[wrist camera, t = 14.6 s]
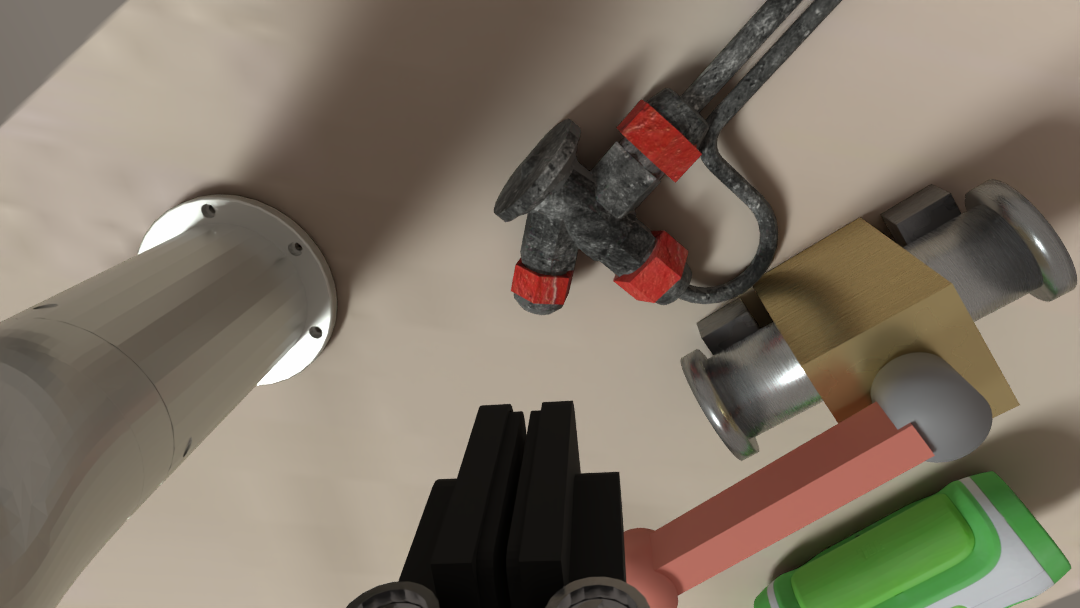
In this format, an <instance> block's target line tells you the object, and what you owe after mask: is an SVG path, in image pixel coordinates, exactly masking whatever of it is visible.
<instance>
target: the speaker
mask: <svg viewBox="0 0 1080 608" xmlns="http://www.w3.org/2000/svg"><path fill="white" fill-rule="evenodd" d="M1070 569H1071V565H1070V563H1069V561H1068V560H1067V558H1066V557H1065V555H1064V554H1063V553H1062V551H1061V550H1060V549H1059V547H1058V546H1057V545H1056V543H1055V542H1054V541H1053V540H1052V538H1051V537H1050V536H1049V535H1048V533H1047V532H1046V531H1045V529H1044V528H1043V527H1042V526H1041V525H1040V523H1039V522H1038V521H1037V520H1036V519H1035V517H1034V516H1033V515H1032V514H1031V512H1030V511H1029V510H1028V509H1027V508H1026V506H1025V505H1024V504H1023V503H1022V502H1021V500H1020V499H1019V498H1018V497H1017V496H1016V495H1015V493H1014V492H1013V491H1012V490H1011V489H1010V488H1009V486H1008V485H1007V484H1006V483H1005V482H1004V481H1003V480H1002V479H1001V478H1000V477H999V476H998V475H997V474H996V473H995V472H993V471H989V472H985V473H980V474H976V475H972V476H969V477H966V478H963V479H960V480H957V481H953V482H951V483H949V484H948V485H947V486H945V487H944V488H943V489H942V490H940V491H939V492H937V493H936V494H934V495H932V496H929V497H926V498H924V499H921V500H918V501H916V502H913V503H911V504H909V505H907V506H905V507H903V508H901V509H899V510H898V511H896V512H894V513H892V514H890V515H888V516H886V517H885V518H883V519H881V520H879V521H877V522H875V523H873V524H872V525H870V526H868V527H866V528H864V529H862V530H861V531H859V532H857V533H855V534H853V535H851V536H850V537H848V538H846V539H844V540H842V541H840V542H839V543H837V544H835V545H833V546H831V547H830V548H828V549H826V550H824V551H822V552H821V553H819V554H818V555H816V556H815V557H814V558H812V559H811V560H810V561H808V562H807V563H805V564H804V565H803V566H801V567H799V568H797V569H795V570H792V571H790V572H787V573H784V574H782V575H780V576H779V577H777V578H776V579H775V580H774V581H772V582H771V583H770V584H769V585H768V586H767V587H766V588H765V589H764V590H763V591H762V592H761V593H760V594H759V595H758V596H757V597H756V599H755V601H754V608H1009V607H1011V606H1013V605H1016V604H1019V603H1021V602H1024V601H1026V600H1029V599H1032V598H1034V597H1036V596H1038V595H1040V594H1041V593H1043V592H1044V591H1046V590H1047V589H1049V588H1050V587H1051V586H1053V585H1054V584H1055V583H1056V582H1057V581H1058V580H1059V579H1061V578H1062V577H1063V576H1064V575H1065V574H1066V573H1067V572H1068V571H1069V570H1070Z"/></svg>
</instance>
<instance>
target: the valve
mask: <svg viewBox="0 0 1080 608" xmlns="http://www.w3.org/2000/svg"><path fill="white" fill-rule="evenodd" d="M801 1H802V0H767V1H766V2H765V4H764V5H763V6H762V7H761V8H760V9H759V10H758V11H757V12H756V14H755V15H754V16H753V17H752V18H751V19H750V20H749V21H748V22H747V24H746V25H745V26H744V27H743V28H742V29H741V30H740V31H739V32H738V34H737V35H736V36H735V37H734V38H733V39H732V40H731V41H730V42H729V44H728V45H727V46H726V47H725V48H724V49H723V50H722V51H721V52H720V54H719V55H718V56H717V57H716V58H715V59H714V60H713V61H712V62H711V64H710V65H709V66H708V67H707V68H706V69H705V70H704V71H703V72H702V74H701V75H700V76H699V77H698V78H697V79H696V80H695V81H694V82H693V84H692V85H691V86H690V87H689V88H688V89H687V90H686V91H685V92H684V93H683V95H682V96H681V97H680V96H679V95H678V94H676V93H675V92H674V91H673V90H671V89H669V88H665V89H664V90H662V91H661V92H659V93H658V94H656V95H655V96H653V97H652V98H650V99H649V100H647V101H646V102H645V101H643V100H642V99H641V100H640V101H639V102H638V104H637V105H636V106H635V107H634V108H633V109H632V110H631V112H630V113H629V114H628V115H627V116H626V117H625V118H624V120H623V121H622V122H621V123H620V124H619V125H618V126H617V129H618V130H619V131H620V133H621V134H622V135H624V136H625V137H624V138H623V139H622V141H621V142H620V143H618V142H617V141H616V142H615V144H614V145H613V146H612V147H611V148H610V149H609V150H608V152H607V153H606V154H605V155H604V156H603V157H602V159H601V160H600V161H599V162H598V163H597V164H596V166H595V167H594V168H593V169H592V170H591V171H588V170H587V169H586V168H585V167H584V166H582V165H581V164H580V163H579V162H578V161H577V156H575V155H576V152H577V143H578V140H579V138H580V134H581V130H580V128H579V127H578V126H577V125H576V124H575V123H574V122H573V121H571V120H570V119H567V120H564V121H562V122H561V123H559V124H558V125H556V126H555V127H554V128H553V129H552V130H550V131H549V132H548V133H547V134H546V135H545V136H544V137H543V139H542V140H541V141H540V142H539V143H538V144H537V146H536V147H535V148H534V149H533V150H532V151H531V153H530V154H529V155H528V156H527V157H526V158H525V160H524V161H523V162H522V163H521V164H520V165H519V167H518V168H517V169H516V170H515V171H514V173H513V174H512V176H511V177H510V179H509V180H508V182H507V183H506V185H505V186H504V188H503V190H502V191H501V193H500V195H499V197H498V199H497V201H496V204H495V207H494V213H495V214H496V215H497V216H499V217H500V218H501V219H502V220H504V221H505V222H508V221H511V220H513V219H515V218H516V217H518V216H520V215H524V214H527V213H528V215H527V220H526V225H525V231H524V236H523V241H522V246H521V251H520V253H521V258H520V260H519V261H518V262H517V264H516V266H515V271H514V277H513V282H512V287H511V291H512V292H514V298H515V299H516V301H517V302H518V303H519V304H520V306H521V307H522V308H523V309H524V310H526V311H528V312H530V313H534V314H539V315H547V314H551V313H553V312H555V311H557V310H559V309H561V308H562V306H563V304H564V302H565V300H566V298H567V296H568V294H569V290H570V285H571V281H572V276H573V272H574V266H575V262H576V257H577V252H578V250H579V249H580V250H581V251H583V252H584V253H585V254H586V255H588V256H589V257H590V258H591V259H593V260H594V261H600V262H601V263H603V264H604V265H605V266H606V267H608V268H609V269H610V270H611V271H613V272H614V273H615V277H614V280H613V281H614V282H615V283H616V284H618V285H619V286H620V287H621V288H623V289H624V290H625V291H626V292H628V293H629V294H630V295H631V296H633V297H634V298H635V299H636V300H639V301H646V302H652V303H658V304H660V305H667V304H669V303H672V302H674V301H675V300H677V299H678V298H679V299H682V300H685V301H688V302H691V303H699V304H710V303H719V302H722V301H726V300H729V299H732V298H734V297H736V296H738V295H740V294H742V293H744V292H745V291H746V290H748V289H749V288H750V287H752V286H753V285H754V284H755V283H756V282H757V281H758V280H759V279H760V278H761V277H762V275H763V274H764V273H765V272H766V270H767V269H768V267H769V265H770V263H771V261H772V260H773V257H774V254H775V251H776V247H777V240H778V227H777V221H776V217H775V215H774V213H773V210H772V208H771V206H770V205H769V203H768V202H767V201H766V200H765V198H764V197H763V196H762V195H761V194H760V193H759V192H758V191H757V190H756V189H755V188H754V187H753V186H752V185H751V184H750V183H749V182H748V181H747V180H745V179H744V178H743V177H742V176H741V175H740V174H739V173H738V172H737V171H736V170H735V169H734V168H733V167H732V166H731V165H730V164H729V163H728V162H727V161H726V160H724V159H723V158H722V156H721V155H720V153H719V152H718V148H717V138H718V135H719V133H720V131H721V130H722V128H723V127H724V126H725V125H726V124H727V123H728V121H729V120H730V119H731V118H732V117H733V116H734V115H735V114H736V113H737V112H738V111H739V110H740V109H741V108H742V107H743V105H744V104H745V103H746V102H747V101H748V100H749V99H750V98H751V97H752V96H753V95H754V94H755V93H756V92H757V90H758V89H759V88H760V87H761V86H762V85H763V84H764V83H765V82H766V81H767V80H768V79H769V78H770V77H771V76H772V74H773V73H774V72H775V71H776V70H777V69H778V68H779V67H780V66H781V65H782V64H783V63H784V62H785V61H786V60H787V58H788V57H789V56H790V55H791V54H792V53H793V52H794V51H795V50H796V49H797V48H798V47H799V46H800V45H801V43H802V42H803V41H804V40H805V39H806V38H807V37H808V36H809V35H810V34H811V33H812V32H813V31H814V30H815V29H816V27H817V26H818V25H819V24H820V23H821V22H822V21H823V20H824V19H825V18H826V17H827V16H828V15H829V14H830V12H831V11H832V10H833V9H834V8H835V7H836V6H837V5H838V4H839V3H840V2H841V1H842V0H815V1H814V2H813V3H812V4H811V5H810V6H809V7H808V8H807V9H806V11H805V12H804V13H803V14H802V15H801V16H800V17H799V18H798V19H797V20H796V21H795V22H794V24H793V25H792V26H791V27H790V28H789V29H788V30H787V31H786V32H785V33H784V34H783V35H782V37H781V38H780V39H779V40H778V41H777V42H776V43H775V44H774V45H773V46H772V47H771V48H770V50H769V51H768V52H767V53H766V54H765V55H764V56H763V57H762V58H761V59H760V60H759V61H758V63H757V64H756V65H755V66H754V67H753V68H752V69H751V70H750V71H749V72H748V73H747V75H746V76H745V77H744V78H743V79H742V80H741V81H740V82H739V83H738V84H737V85H736V86H735V88H734V89H733V90H732V91H731V92H730V93H729V94H728V95H727V96H726V97H725V98H724V99H723V101H722V102H721V103H720V104H719V105H718V106H717V107H716V108H715V109H714V110H713V111H712V112H711V114H710V115H709V116H708V118H707V119H706V121H705V120H704V119H703V118H702V116H701V115H700V114H699V112H700V111H701V110H702V109H703V108H704V107H705V106H706V105H707V104H708V102H709V101H710V100H711V99H712V98H713V97H714V96H715V95H716V94H717V93H718V92H719V90H720V89H721V88H722V87H723V86H724V85H725V84H726V83H727V82H728V81H729V80H730V78H731V77H732V76H733V75H734V74H735V73H736V72H737V71H738V70H739V69H740V68H741V66H742V65H743V64H744V63H745V62H746V61H747V60H748V59H749V58H750V57H751V56H752V54H753V53H754V52H755V51H756V50H757V49H758V48H759V47H760V46H761V45H762V44H763V43H764V41H765V40H766V39H767V38H768V37H769V36H770V35H771V34H772V33H773V32H774V31H775V29H776V28H777V27H778V26H779V25H780V24H781V23H782V22H783V21H784V20H785V19H786V17H787V16H788V15H789V14H790V13H791V12H792V11H793V10H794V9H795V8H796V7H797V5H798V4H799V3H800V2H801ZM698 150H699V151H698ZM699 157H701V160H702V161H703V163H704V164H705V165H706V167H707V168H708V169H709V170H710V171H711V172H712V173H713V174H714V175H715V176H716V177H717V178H718V179H719V180H720V181H721V182H722V183H723V184H725V185H726V186H727V187H728V188H729V189H730V190H731V191H732V192H733V193H734V194H735V195H736V196H737V197H738V198H739V199H741V200H742V201H743V202H744V203H745V204H746V205H747V206H748V207H749V208H750V210H751V211H752V212H753V213H754V215H755V217H756V219H757V221H758V224H759V230H760V242H759V246H758V250H757V253H756V255H755V257H754V259H753V261H752V262H751V264H750V265H749V266H748V267H747V269H746V270H745V271H744V272H743V273H741V274H740V275H739V276H738V277H737V278H735V279H733V280H731V281H729V282H728V283H726V284H722V285H719V286H716V287H706V288H705V287H696V286H692V285H689V284H690V281H691V278H692V272H691V270H690V268H689V266H688V265H687V263H686V259H687V255H688V251H687V250H686V249H685V248H684V247H683V246H682V245H681V244H679V243H678V242H677V241H676V240H675V239H674V238H673V237H671V236H670V235H669V234H668V233H667V232H666V231H650V230H649V229H648V228H647V227H646V226H645V225H644V224H643V223H642V222H640V221H639V220H638V219H637V218H636V216H637V215H636V211H635V209H636V208H637V207H638V206H639V205H640V204H641V203H642V202H643V200H644V199H645V198H646V197H647V196H648V195H649V194H650V193H651V192H652V191H653V190H654V189H655V188H656V187H657V186H658V184H659V183H660V182H661V181H660V180H659V179H660V178H661V177H662V176H663V175H664V174H666V175H667V176H668V177H670V178H671V179H672V180H673V181H674V182H675V183H676V182H677V181H678V179H679V178H680V177H681V176H682V175H683V174H684V173H685V172H686V171H687V170H688V169H689V168H690V167H691V166H692V164H693V163H694V162H695V161H696V160H697V159H698V158H699Z"/></svg>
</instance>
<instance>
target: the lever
mask: <svg viewBox="0 0 1080 608" xmlns="http://www.w3.org/2000/svg"><path fill="white" fill-rule="evenodd" d="M871 400H872V403H873V404H871V405H869V406H868V407H866V408H864V409H863V410H861V411H859V412H857V413H856V414H854V415H852V416H851V417H849V418H847V419H845V420H844V421H842V422H840V423H839V424H837V425H835V426H833V427H832V428H830V429H828V430H827V431H825V432H823V433H822V434H820V435H818V436H816V437H815V438H813V439H811V440H810V441H808V442H806V443H804V444H803V445H801V446H799V447H798V448H796V449H794V450H792V451H791V452H789V453H787V454H786V455H784V456H782V457H781V458H779V459H777V460H775V461H774V462H772V463H770V464H769V465H767V466H765V467H763V468H762V469H760V470H758V471H757V472H755V473H753V474H751V475H750V476H748V477H746V478H745V479H743V480H741V481H739V482H738V483H736V484H734V485H733V486H731V487H729V488H728V489H726V490H724V491H722V492H721V493H719V494H717V495H716V496H714V497H712V498H710V499H709V500H707V501H705V502H704V503H702V504H700V505H698V506H697V507H695V508H693V509H692V510H690V511H688V512H686V513H685V514H683V515H681V516H680V517H678V518H676V519H675V520H673V521H671V522H669V523H668V524H666V525H664V526H663V527H661V528H659V529H657V530H656V531H654V530H651V529H646V528H635V529H630V530H627V531H625V532H624V546H625V563H626V583H627V584H629V585H631V586H633V587H635V588H636V589H637V590H638V591H639V592H640V593H641V594H642V595H643V596H644V597H645V598H646V600H647V602H648V604H649V606H650V608H677V605H678V595H680V594H681V593H683V592H685V591H687V590H689V589H691V588H692V587H694V586H696V585H698V584H700V583H702V582H704V581H705V580H707V579H709V578H711V577H713V576H715V575H716V574H718V573H720V572H722V571H724V570H726V569H727V568H729V567H731V566H733V565H735V564H737V563H738V562H740V561H742V560H744V559H746V558H748V557H749V556H751V555H753V554H755V553H757V552H759V551H760V550H762V549H764V548H766V547H768V546H770V545H771V544H773V543H775V542H777V541H779V540H781V539H783V538H784V537H786V536H788V535H790V534H792V533H794V532H795V531H797V530H799V529H801V528H803V527H805V526H806V525H808V524H810V523H812V522H814V521H816V520H817V519H819V518H821V517H823V516H825V515H827V514H828V513H830V512H832V511H834V510H836V509H838V508H839V507H841V506H843V505H845V504H847V503H849V502H850V501H852V500H854V499H856V498H858V497H860V496H862V495H863V494H865V493H867V492H869V491H871V490H873V489H874V488H876V487H878V486H880V485H882V484H884V483H885V482H887V481H889V480H891V479H893V478H895V477H896V476H898V475H900V474H902V473H904V472H906V471H907V470H909V469H911V468H913V467H915V466H917V465H918V464H920V463H922V462H924V461H927V462H936V463H938V462H948V461H953V460H956V459H959V458H962V457H964V456H966V455H968V454H969V453H971V452H972V451H974V450H975V449H976V448H978V447H979V446H980V445H981V444H982V442H983V441H984V440H985V439H986V437H987V436H988V434H989V431H990V429H991V426H992V410H991V408H990V405H989V403H988V402H987V400H986V399H985V398H984V397H983V396H982V395H981V394H980V393H979V392H978V391H977V390H976V389H975V388H974V387H973V386H972V385H971V384H970V383H968V382H967V381H966V380H965V379H964V378H963V377H962V376H961V375H960V374H959V373H958V372H957V371H956V370H955V369H954V368H953V367H952V366H951V365H950V364H949V363H947V362H946V361H945V360H944V359H942V358H941V357H939V356H936V355H934V354H930V353H923V352H917V353H909V354H905V355H902V356H899V357H897V358H895V359H893V360H891V361H890V362H889V363H887V364H886V365H885V366H884V367H883V368H882V369H881V370H880V371H879V372H878V373H877V375H876V377H875V378H874V380H873V383H872V386H871Z"/></svg>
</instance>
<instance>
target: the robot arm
mask: <svg viewBox="0 0 1080 608" xmlns="http://www.w3.org/2000/svg"><path fill="white" fill-rule="evenodd" d="M213 207H214V209H215V210H214V209H213ZM298 243H299V244H300V245H301V247H302V248H300V247H299V246H298ZM336 314H337V296H336V289H335V283H334V280H333V277H332V274H331V271H330V268H329V266H328V264H327V262H326V260H325V258H324V257H323V255H322V253H321V251H320V249H319V248H318V247H317V246H316V244H315V243H314V242H313V240H312V239H311V238H310V237H309V235H308V234H307V233H306V232H305V231H304V230H303V229H302V228H301V227H299V226H298V225H297V224H296V223H295V222H294V221H293V220H292V219H290V218H289V217H287V216H286V215H284V214H283V213H281V212H280V211H278V210H276V209H275V208H273V207H270V206H268V205H266V204H264V203H261V202H259V201H257V200H254V199H249V198H245V197H241V196H237V195H222V194H215V195H208V196H201V197H197V198H194V199H192V200H189V201H186V202H183V203H181V204H179V205H177V206H175V207H173V208H171V209H169V210H167V211H166V212H165V213H164V214H163V215H161V216H160V217H159V218H158V219H157V220H156V221H154V223H153V224H152V225H151V227H150V228H149V230H148V231H147V232H146V234H145V235H144V237H143V240H142V242H141V245H140V247H139V250H138V254H137V255H136V256H134V257H132V258H130V259H128V260H126V261H124V262H122V263H120V264H118V265H116V266H114V267H112V268H110V269H108V270H106V271H104V272H102V273H100V274H98V275H95V276H93V277H91V278H89V279H87V280H85V281H83V282H81V283H79V284H77V285H75V286H73V287H71V288H69V289H67V290H65V291H63V292H61V293H59V294H57V295H55V296H53V297H51V298H49V299H47V300H44V301H42V302H40V303H38V304H36V305H34V306H32V307H30V308H28V309H26V310H24V311H22V312H20V313H18V314H16V315H14V316H12V317H10V318H8V319H6V320H4V321H2V322H0V608H56V607H57V605H58V604H59V602H60V601H61V599H62V598H63V596H64V595H65V594H66V592H67V591H68V590H69V588H70V587H71V586H72V584H73V583H74V582H75V580H76V579H77V578H78V576H79V575H80V574H81V573H82V571H83V570H84V569H85V568H86V567H87V565H88V564H89V563H90V562H91V561H92V559H93V558H94V557H95V556H96V555H97V553H98V552H99V551H100V550H101V549H102V547H103V546H104V545H105V544H106V543H107V542H108V541H109V539H110V538H111V537H112V536H113V535H114V534H115V533H116V532H117V531H118V530H119V529H120V527H121V526H122V525H123V524H124V523H125V522H126V521H127V520H128V519H129V518H130V517H131V515H132V514H133V513H134V512H135V511H136V510H137V509H138V508H139V507H140V506H141V505H142V504H143V503H144V502H145V501H146V500H147V499H148V498H149V496H150V495H151V494H152V493H153V492H154V491H155V490H156V489H157V488H158V487H159V486H160V485H161V484H162V483H163V482H164V481H165V480H166V479H167V478H168V477H169V476H170V475H171V474H172V473H173V472H174V471H175V470H176V469H177V468H178V466H179V465H180V464H181V463H182V462H183V461H184V460H185V459H186V458H187V457H188V456H189V455H190V454H191V453H192V452H193V451H194V450H195V449H196V448H197V447H198V446H199V445H200V444H201V443H202V441H203V440H204V439H205V438H206V437H207V436H208V435H209V434H210V433H211V432H212V431H213V430H214V429H215V428H216V427H217V426H218V425H219V424H220V423H221V422H222V421H223V420H224V419H225V417H226V416H227V415H228V414H229V413H230V412H231V411H232V410H233V409H234V408H235V407H236V406H237V405H238V404H239V403H240V402H241V401H242V400H243V399H244V398H245V397H246V396H247V395H248V393H249V392H250V391H251V390H252V389H253V388H254V387H255V386H258V385H267V384H274V383H277V382H280V381H284V380H287V379H289V378H291V377H293V376H295V375H296V374H298V373H300V372H302V371H303V370H304V369H305V368H307V367H308V366H309V365H310V364H311V363H312V362H313V361H314V360H315V359H316V358H317V357H318V356H319V354H320V353H321V352H322V351H323V350H324V348H325V346H326V344H327V343H328V341H329V339H330V337H331V335H332V332H333V328H334V325H335V322H336ZM318 327H319V328H321V330H320V329H319V328H318ZM346 608H650V606H649V604H648V602H647V600H646V598H645V597H644V596H643V595H642V594H641V593H640V592H639V591H638V590H637V589H636V588H635V587H633V586H631V585H629V584H627V583H626V563H625V546H624V530H623V515H622V502H621V488H620V476H619V472H605V473H581V471H580V461H579V451H578V441H577V431H576V421H575V411H574V404H573V401H558V402H543V403H542V407H541V410H539V411H531V414H530V419H529V425H528V431H527V434H526V427H525V419H524V414H523V412H522V411H520V412H513V409H512V406H511V404H502V405H483V406H480V407H479V410H478V413H477V416H476V419H475V423H474V426H473V429H472V432H471V435H470V439H469V442H468V445H467V448H466V451H465V454H464V458H463V461H462V464H461V467H460V470H459V474H458V477H457V479H438V480H437V481H435V483H434V485H433V487H432V490H431V493H430V495H429V498H428V501H427V504H426V506H425V509H424V512H423V515H422V517H421V520H420V523H419V526H418V529H417V531H416V534H415V537H414V540H413V542H412V545H411V548H410V551H409V553H408V556H407V559H406V562H405V565H404V567H403V570H402V573H401V576H400V578H399V581H398V582H391V583H387V584H383V585H379V586H376V587H374V588H372V589H370V590H368V591H366V592H364V593H362V594H361V595H360V596H358V597H357V598H356V599H355V600H353V601H352V602H351V603H349V605H348V606H347V607H346Z"/></svg>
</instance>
